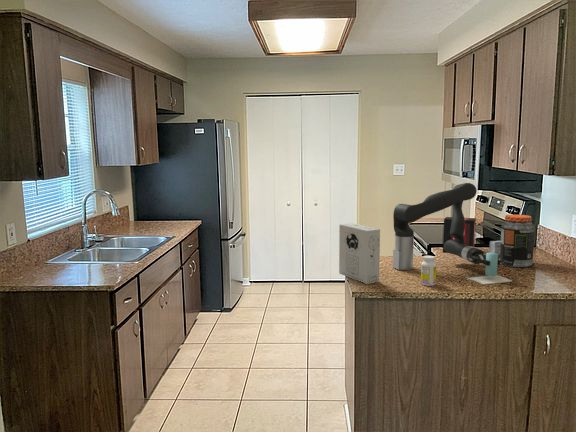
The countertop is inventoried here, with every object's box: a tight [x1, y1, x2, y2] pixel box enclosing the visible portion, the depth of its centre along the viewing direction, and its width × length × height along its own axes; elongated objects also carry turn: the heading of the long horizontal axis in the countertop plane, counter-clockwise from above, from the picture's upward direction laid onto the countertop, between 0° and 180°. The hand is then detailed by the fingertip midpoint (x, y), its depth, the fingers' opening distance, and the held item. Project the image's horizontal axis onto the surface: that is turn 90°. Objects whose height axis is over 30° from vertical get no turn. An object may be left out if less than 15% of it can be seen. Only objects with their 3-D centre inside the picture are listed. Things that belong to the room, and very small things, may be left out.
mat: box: [466, 274, 513, 285], centre depth 222 cm, size 16×12×1 cm
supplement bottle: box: [420, 255, 437, 287], centre depth 215 cm, size 7×7×13 cm
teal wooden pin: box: [484, 252, 498, 276], centre depth 220 cm, size 5×5×10 cm
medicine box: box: [488, 240, 501, 258], centre depth 267 cm, size 8×4×9 cm, turn 105°
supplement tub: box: [499, 214, 535, 268], centre depth 247 cm, size 16×16×26 cm
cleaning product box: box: [442, 216, 477, 254], centre depth 277 cm, size 16×9×20 cm, turn 64°
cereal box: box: [338, 222, 381, 285], centre depth 225 cm, size 22×8×25 cm, turn 30°
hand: (494, 263), depth 218 cm, fingers closed on teal wooden pin, 5 cm apart
